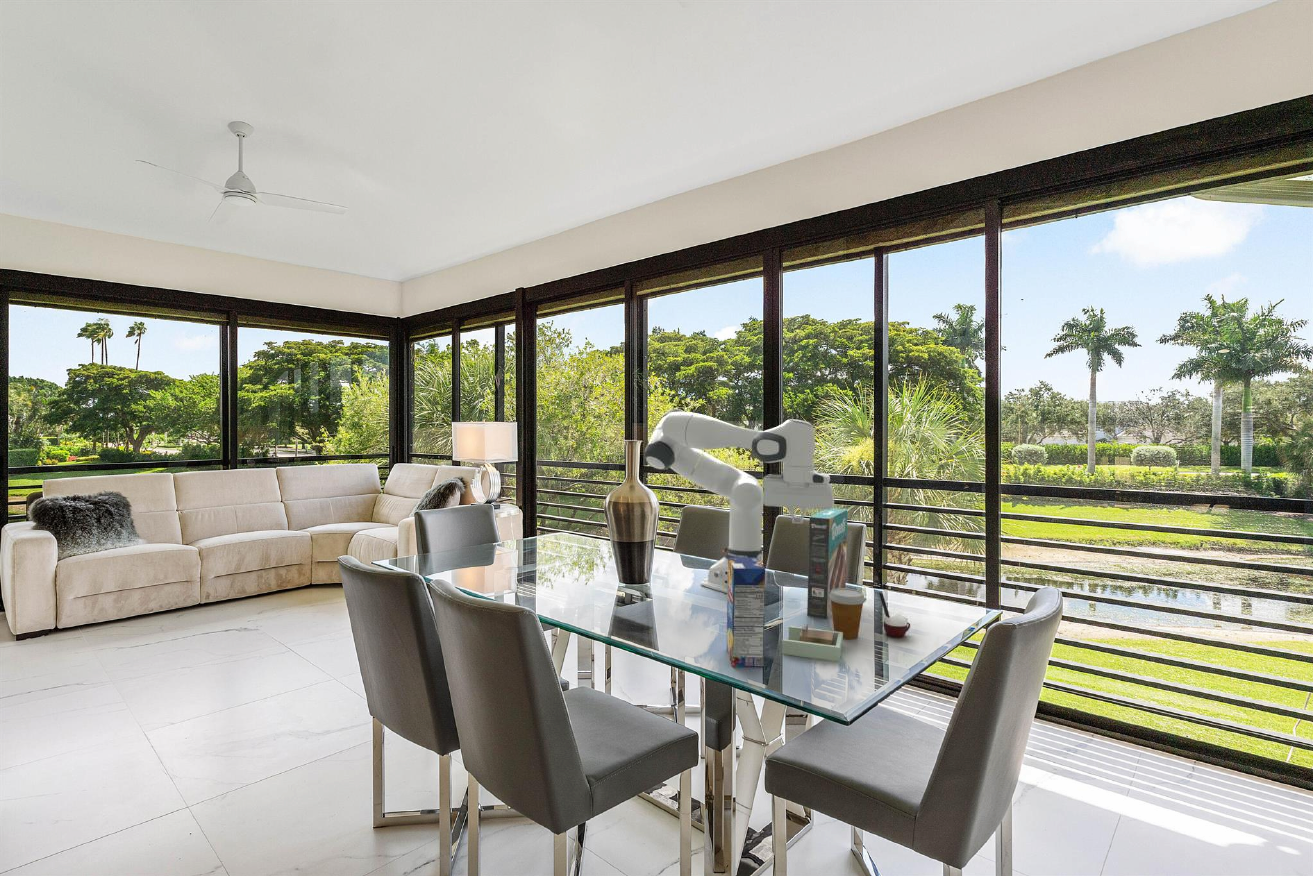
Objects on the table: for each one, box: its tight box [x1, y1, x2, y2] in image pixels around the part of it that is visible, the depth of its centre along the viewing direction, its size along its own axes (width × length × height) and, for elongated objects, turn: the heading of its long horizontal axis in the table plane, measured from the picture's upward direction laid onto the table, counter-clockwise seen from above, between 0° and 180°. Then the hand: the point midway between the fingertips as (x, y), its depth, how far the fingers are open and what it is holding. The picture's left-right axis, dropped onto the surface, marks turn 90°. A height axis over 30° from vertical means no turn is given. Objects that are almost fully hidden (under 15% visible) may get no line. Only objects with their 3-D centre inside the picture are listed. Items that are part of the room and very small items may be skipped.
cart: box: [799, 623, 834, 646], centre depth 168 cm, size 8×8×6 cm
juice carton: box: [726, 557, 766, 669], centre depth 162 cm, size 12×8×24 cm, turn 0°
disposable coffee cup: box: [829, 587, 866, 640], centre depth 180 cm, size 10×10×12 cm
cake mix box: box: [806, 507, 849, 620], centre depth 204 cm, size 22×6×30 cm, turn 150°
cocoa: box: [878, 592, 911, 639], centre depth 180 cm, size 10×6×12 cm, turn 81°
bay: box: [781, 625, 844, 663], centre depth 169 cm, size 14×12×4 cm
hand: (797, 523), depth 190 cm, fingers closed
